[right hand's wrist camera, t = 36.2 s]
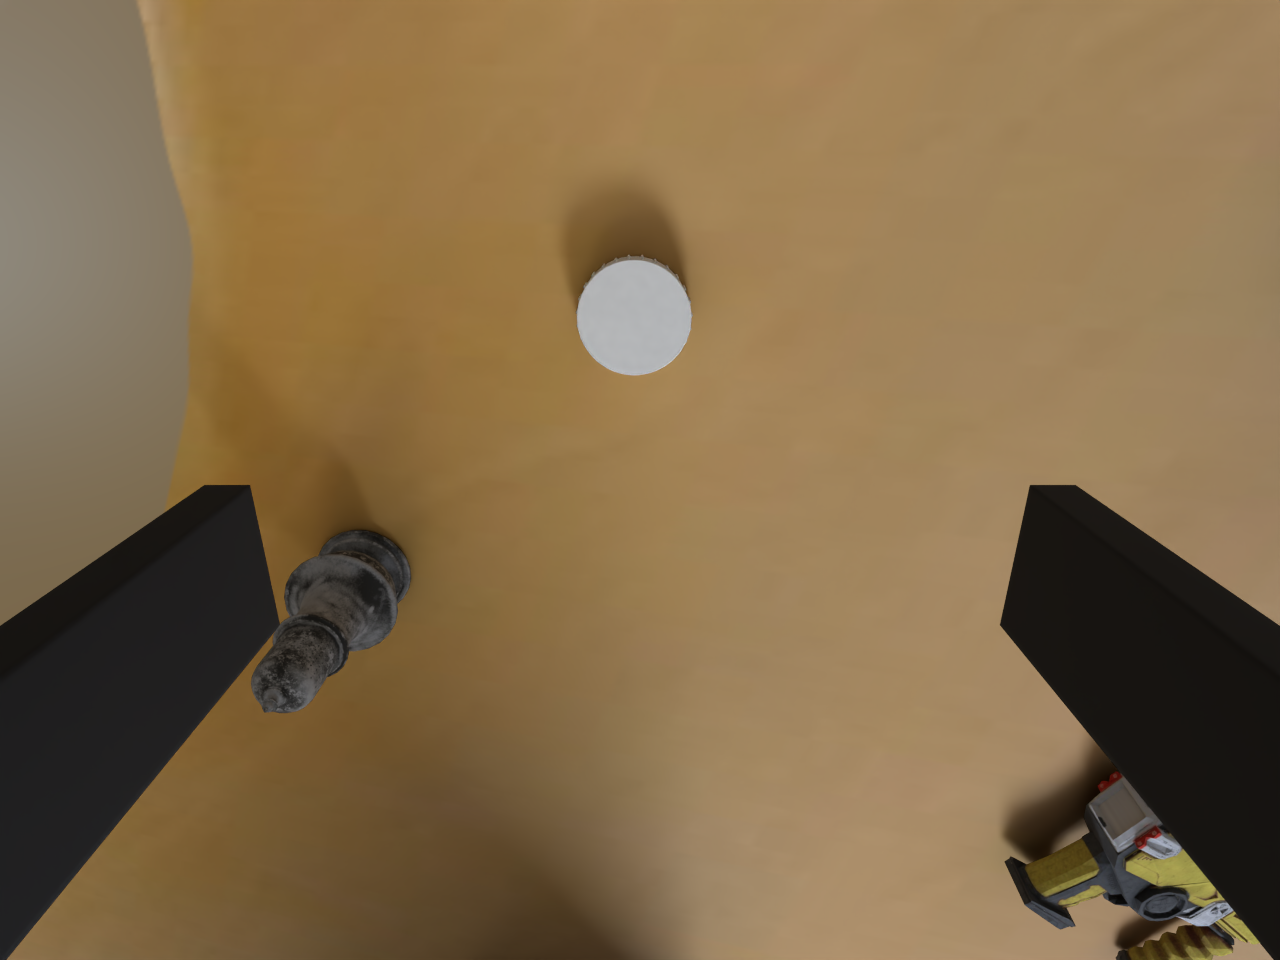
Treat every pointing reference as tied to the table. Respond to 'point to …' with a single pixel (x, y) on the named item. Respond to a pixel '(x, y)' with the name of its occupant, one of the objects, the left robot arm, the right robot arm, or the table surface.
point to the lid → (634, 315)
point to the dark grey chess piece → (331, 616)
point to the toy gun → (1132, 879)
